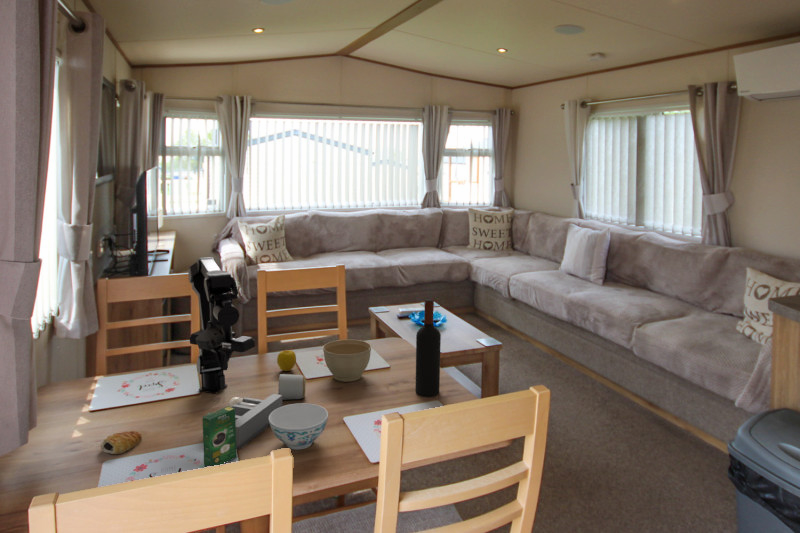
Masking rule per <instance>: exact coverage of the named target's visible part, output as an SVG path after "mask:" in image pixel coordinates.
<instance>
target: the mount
mask: <svg viewBox="0 0 800 533" xmlns="http://www.w3.org/2000/svg"><path fill="white" fill-rule="evenodd" d="M243 402H245V403H251V404H257V406H255V407H248V406H242V405H236V404H235V405H233V406H232V408H235V420H236V450H241V449H242V448H243V447H245V446H246V445H247V444H249V443H250V442H251V441H252V440H254V439H255V438H256V437H257V436H259V434H261V433H262V432H263V431H265V430H266V429H267V428H268V427H271V426H270V423H269V415H270V414H271V413H272V412H273V411H274V410H276V409H277V408H280V407H282V406H283V400H282V395H278V393H272V394H270V395H269V396H268V397H266V398H265V399H260V398H252V397H248V396H247V397H244V398H243Z"/></svg>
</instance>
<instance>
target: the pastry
mask: <svg viewBox="0 0 800 533" xmlns="http://www.w3.org/2000/svg"><path fill="white" fill-rule="evenodd" d="M142 438H143V436H142V433H140V432H138V431H137V430H130V431H122V432H116V433H113V435H108V436H107V437H106V438H105V439H103V441H102V442H101V445H100V449H101V450H102V452H103V453H105V454H111V455H121V454H124V453H126V451H130V450H132V448H135V447H136V446H138V445H139V444H140V442H141V441H142Z"/></svg>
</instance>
